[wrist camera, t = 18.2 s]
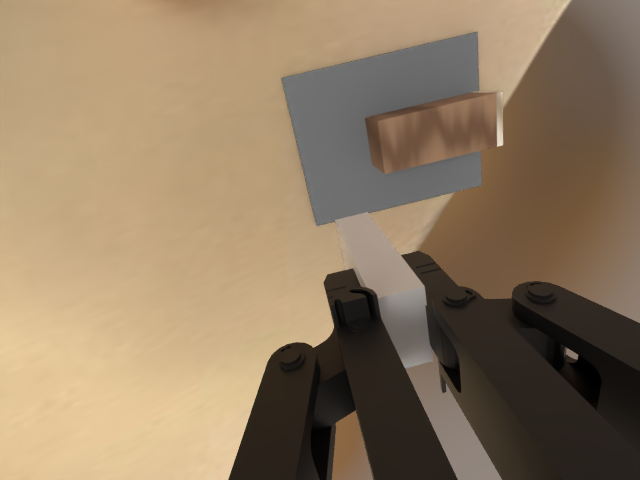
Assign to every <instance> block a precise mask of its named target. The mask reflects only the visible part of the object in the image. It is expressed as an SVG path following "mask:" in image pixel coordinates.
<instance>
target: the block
mask: <svg viewBox="0 0 640 480" xmlns="http://www.w3.org/2000/svg"><path fill="white" fill-rule="evenodd" d="M365 122H366V129H367V135H368V142H369V148H370V154H371V161H372V165H374V166H375V167H376V168H378V169H379V170H380V171H382V172H383V173H384V174H387V173H391V172H395V171H399V170H403V169H407V168H412V167H416V166H420V165H424V164H428V163H432V162H436V161H440V160H444V159H448V158H452V157H457V156H461V155H465V154H469V153H473V152H477V151H481V150H485V149H489V148H493V147H497V146H501V145H503V91H474V92H470V93H465V94H461V95H457V96H453V97H449V98H445V99H441V100H436V101H432V102H428V103H424V104H420V105H416V106H411V107H407V108H403V109H399V110H395V111H391V112H386V113H382V114H378V115H374V116H370V117H366V118H365Z"/></svg>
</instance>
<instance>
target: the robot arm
mask: <svg viewBox="0 0 640 480" xmlns="http://www.w3.org/2000/svg"><path fill="white" fill-rule="evenodd" d="M335 223H336V227H337V232H338V237H339V242H340V246H341V251H342V256H343V260H344V265H345V270H344V271H340V272H336V273H332V274H328V275H327V277H326V279H325V281H324V286H325V290H326V294H327V298H328V303H329V307H330V311H331V315H332V319H333V323H334V329H333V332H332V334H331V335H330V337H329V338H328V339H327V340H326V341H324V342H323V343H321V344H320V345H318V346H316V347H314V348H313V347H312V346H311V345H308V344H306V343H298V342H296V343H291V344H287V345H285V346H283V347H281V348H279V349H278V350H277V351H276V352H274V353H273V354H272V355H271V357H270V359H269V361H268V363H267V366H266V369H265V372H264V375H263V378H262V381H261V384H260V387H259V390H258V393H257V396H256V399H255V402H254V405H253V408H252V411H251V414H250V417H249V420H248V423H247V426H246V429H245V432H244V435H243V438H242V441H241V444H240V447H239V450H238V453H237V456H236V459H235V462H234V465H233V468H232V471H231V474H230V477H229V480H332V469H333V457H334V445H335V433H336V425H335V423H336V422H337V421H339V420H340V419H342V418H344V417H346V416H347V415H349V414H350V413H352V412H354V411H355V410H356V414H357V418H358V421H359V425H360V429H361V433H362V437H363V441H364V445H365V449H366V453H367V456H368V460H369V464H370V468H371V472H372V476H373V480H457V477H456V475H455V473H454V471H453V469H452V467H451V465H450V463H449V461H448V458H447V456H446V454H445V452H444V450H443V448H442V446H441V444H440V441H439V440H438V437H437V435H436V433H435V431H434V429H433V427H432V425H431V423H430V421H429V418H428V416H427V414H426V412H425V410H424V408H423V406H422V403H421V401H420V400H419V397H418V395H417V393H416V391H415V389H414V387H413V385H412V383H411V381H410V378H409V376H408V374H407V372H406V370H405V368H408V367H412V366H416V365H420V364H424V363H428V362H432V361H433V357H432V349H433V351H434V352H435V354H436V355H437V357H438V363H439V374H440V383H441V389H442V392H443V393H444V392H446V384H447V386H448V387H449V389H450V391H451V392H452V394H453V396H454V398H455V399H456V401H457V402H458V404H459V406H460V408H461V409H462V411H463V413H464V415H465V416H466V418H467V420H468V421H469V423H470V425H471V427H472V428H473V430H474V432H475V434H476V435H477V437H478V439H479V440H480V442H481V444H482V445H483V447H484V449H485V451H486V452H487V454H488V456H489V457H490V459H491V461H492V463H493V464H494V466H495V468H496V470H497V471H498V473H499V475H500V476H501V478H502V480H640V323H638V322H636V321H634V320H632V319H629V318H627V317H625V316H623V315H621V314H619V313H616V312H614V311H612V310H610V309H608V308H606V307H603V306H601V305H599V304H597V303H595V302H592V301H590V300H588V299H586V298H584V297H582V296H579V295H577V294H575V293H573V292H571V291H568V290H566V289H564V288H562V287H560V286H557V285H554V284H551V283H546V282H539V281H534V282H526V283H523V284H519V285H518V286H517V287H515V288H514V290H513V292H512V298H511V299H484V298H483V297H482V296H481V295H480V294H479V293H477V292H476V291H474V290H473V289H470V288H467V287H460V286H457V285H456V284H455V282H454V281H453V280H452V279H451V278H450V277H449V276H448V275H447V274H446V273H445V272H444V271H443V270H442V269H441V268H440V266H439V265H438V264H436V262H435V261H434V260H433V259H432V258H431V257H430V256H429V255H427V254H424V253H422V252H420V251H416V252H412V253H408V254H404V255H400V254H399V252H398V251H397V250H396V248H395V247H394V246H393V244H392V243H391V242H390V241H389V239H388V238H387V237H386V235H385V234H384V233H383V231H382V230H381V229H380V228H379V226H378V225H377V224H376V222H375V221H374V220H373V218H372V217H371V216H370V215H369V213H368V212H366V213H362V214H357V215H353V216H349V217H345V218H341V219H337V220H335ZM431 347H432V348H431ZM566 348H568V349H570V350H572V351H573V352H575V353H577V354H578V360H576V359H573V358H571V357H569V356H568V355H566Z"/></svg>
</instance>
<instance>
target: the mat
mask: <svg viewBox="0 0 640 480" xmlns="http://www.w3.org/2000/svg"><path fill="white" fill-rule="evenodd" d="M281 79H282V83H283V87H284V91H285V95H286V100H287V104H288V108H289V112H290V116H291V121H292V125H293V129H294V133H295V137H296V142H297V146H298V150H299V154H300V159H301V163H302V167H303V171H304V175H305V180H306V184H307V188H308V192H309V196H310V201H311V205H312V209H313V213H314V217H315V222H316V226H319V225H323V224H327V223H331V222H335V220H337V219H341V218H345V217H349V216H353V215H357V214H362V213H366V212H368V213H372V212H376V211H380V210H384V209H388V208H392V207H396V206H400V205H404V204H408V203H412V202H416V201H420V200H424V199H428V198H432V197H436V196H440V195H444V194H449V193H453V192H457V191H461V190H464V189H469V188H473V187H477V186H481V185H482V175H481V173H482V172H481V151H477V152H473V153H469V154H465V155H461V156H457V157H452V158H448V159H444V160H440V161H436V162H432V163H428V164H424V165H420V166H416V167H412V168H407V169H403V170H399V171H395V172H391V173H387V174H384V173H383V172H382V171H380V170H379V169H378V168H376V167H375V166H374V165H372V161H371V154H370V148H369V142H368V135H367V129H366V122H365V118H366V117H370V116H374V115H378V114H382V113H386V112H391V111H395V110H399V109H403V108H407V107H411V106H416V105H420V104H424V103H428V102H432V101H436V100H441V99H445V98H449V97H453V96H457V95H461V94H465V93H470V92H474V91H479V70H478V35H477V32H474V33H470V34H466V35H461V36H457V37H453V38H449V39H444V40H440V41H436V42H432V43H428V44H423V45H419V46H415V47H411V48H406V49H402V50H398V51H394V52H390V53H385V54H381V55H377V56H373V57H368V58H364V59H360V60H356V61H351V62H347V63H343V64H339V65H335V66H330V67H326V68H322V69H318V70H313V71H309V72H305V73H301V74H297V75H292V76H288V77H284V78H281Z"/></svg>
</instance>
